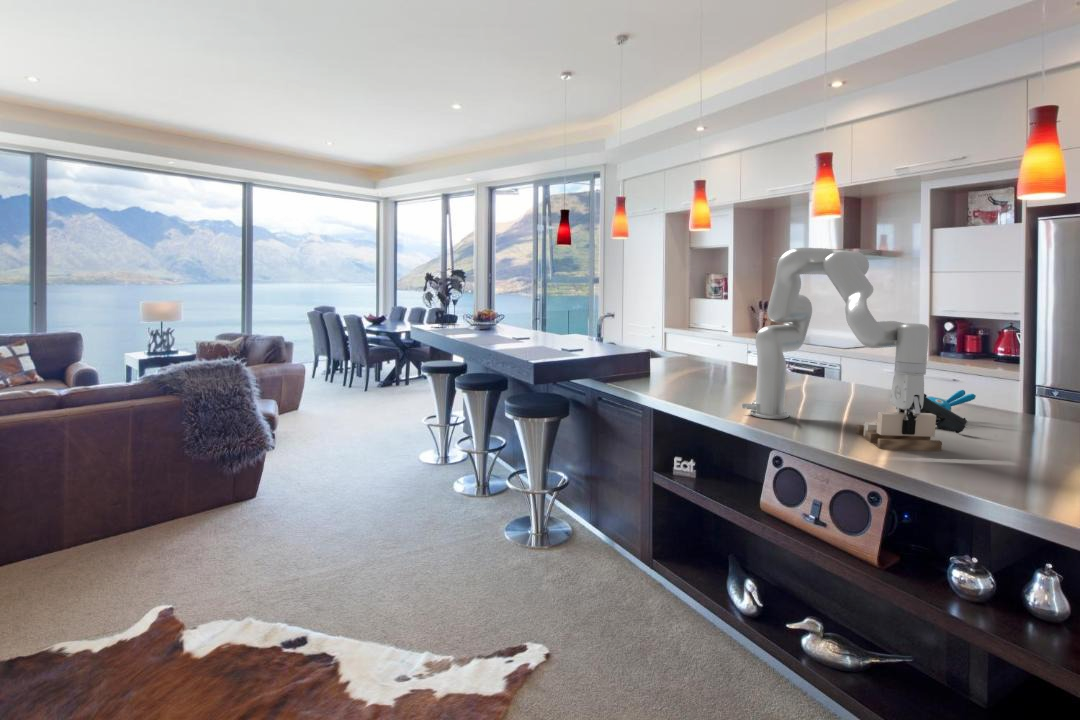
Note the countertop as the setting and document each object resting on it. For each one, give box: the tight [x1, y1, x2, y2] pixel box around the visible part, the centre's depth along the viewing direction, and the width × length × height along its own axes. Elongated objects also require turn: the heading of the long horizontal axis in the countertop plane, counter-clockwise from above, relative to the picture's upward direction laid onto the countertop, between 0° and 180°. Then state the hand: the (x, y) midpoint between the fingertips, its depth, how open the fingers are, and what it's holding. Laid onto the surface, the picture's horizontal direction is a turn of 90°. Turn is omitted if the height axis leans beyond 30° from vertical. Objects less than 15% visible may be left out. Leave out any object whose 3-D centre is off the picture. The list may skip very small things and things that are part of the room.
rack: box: [856, 424, 943, 452], centre depth 178 cm, size 16×17×4 cm
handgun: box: [909, 393, 968, 434], centre depth 194 cm, size 2×17×12 cm, turn 41°
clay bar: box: [876, 411, 937, 438], centre depth 172 cm, size 14×3×6 cm, turn 82°
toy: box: [926, 389, 977, 421], centre depth 208 cm, size 20×19×10 cm
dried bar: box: [863, 421, 877, 436], centre depth 182 cm, size 14×3×4 cm, turn 82°
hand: (905, 431), depth 173 cm, fingers closed on clay bar, 3 cm apart
